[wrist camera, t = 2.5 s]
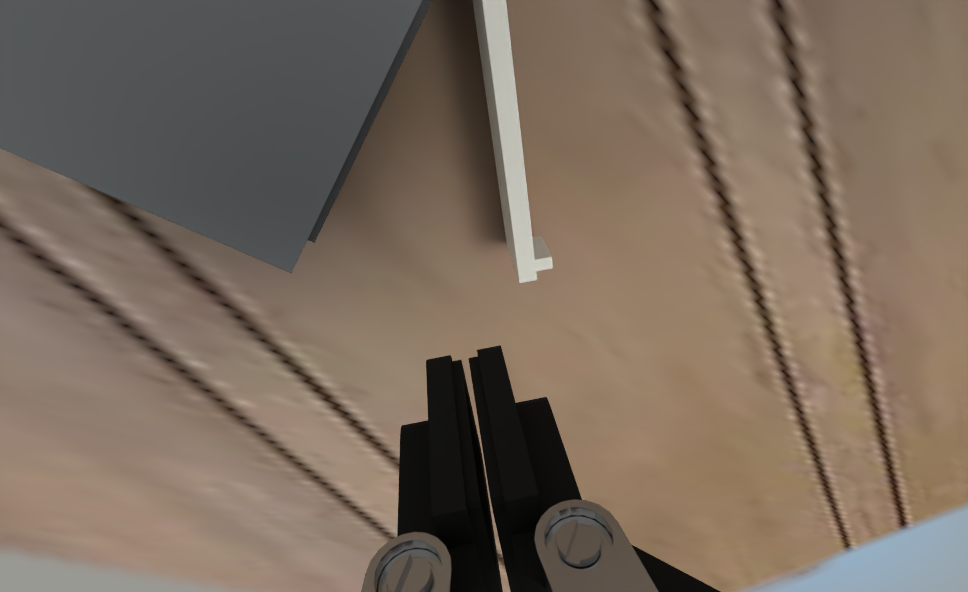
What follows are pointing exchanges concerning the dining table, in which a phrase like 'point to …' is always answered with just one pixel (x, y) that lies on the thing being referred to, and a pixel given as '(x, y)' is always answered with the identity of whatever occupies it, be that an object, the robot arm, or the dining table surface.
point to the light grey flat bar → (508, 139)
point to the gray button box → (204, 104)
